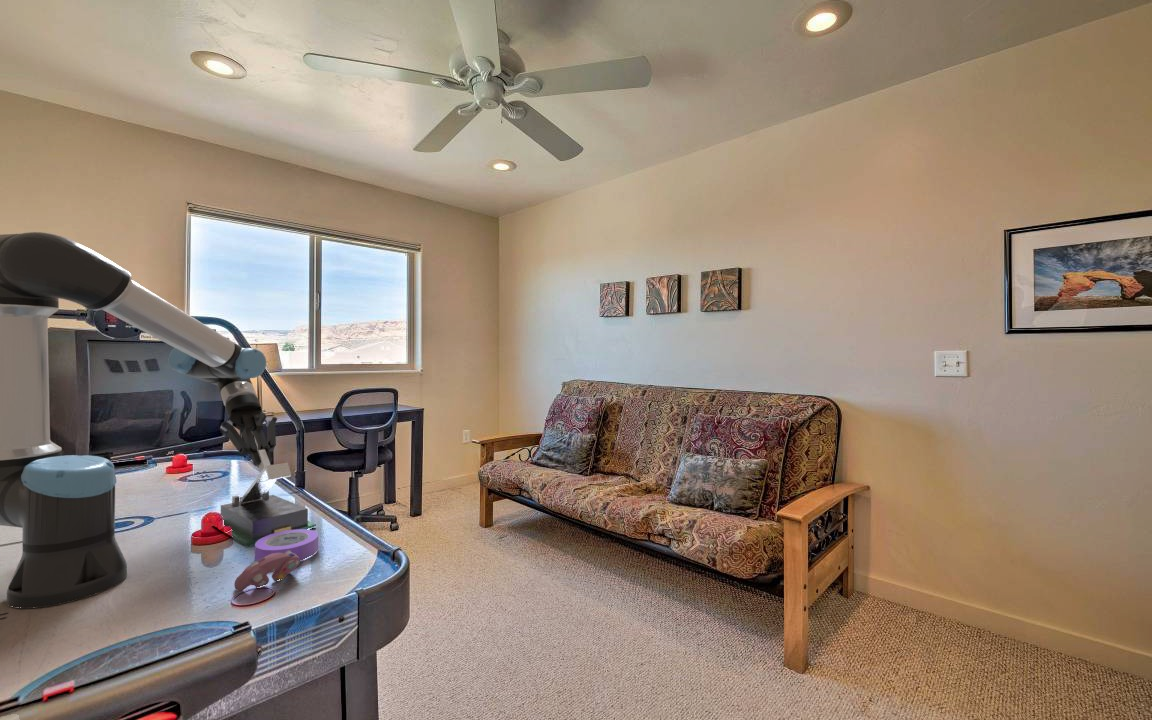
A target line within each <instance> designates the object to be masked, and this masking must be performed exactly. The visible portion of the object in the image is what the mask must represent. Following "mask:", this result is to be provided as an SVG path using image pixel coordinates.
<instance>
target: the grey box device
mask: <svg viewBox="0 0 1152 720" xmlns="http://www.w3.org/2000/svg"><path fill="white" fill-rule="evenodd" d="M231 501H232V502H231V503H226V504H221V505H220V516H221V515H222V516H223V520H224V525H225V526H230V527H232V530H233V531H232V536H233V538H234V539H233V538H232V539H233V540H235V539H236V540H237V541H236V540H235V541H236V542H238V541H239V542H238V543H239V544H241V543H242V544H241V545H243V546H245V547H246V546H248V547H251V546H250V545H252V546H255V545H254V544H255V543H256V542H257V541H258V540H259V539H261V538H263V537H265V536H268V535H270V534H274V533H277V532H282V531H287V530H296V529H308V528H311V527H314V526H316V527H317V524H316V523H313V522H311V521H310V520H309V515H308V514H309V509H308V508H307V507H304V506H302V505H299V504H296V503H294V502H292V501H289V500H287V499H284V498H282V497H280V496H277V495H274V494H270V490H268V492H267V493H266V494H265V495H264V497H263V498H262V499H258V500H253V501H248V502H244V503H240V496H239V495H232V499H231Z"/></svg>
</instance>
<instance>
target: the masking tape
mask: <svg viewBox="0 0 1152 720" xmlns="http://www.w3.org/2000/svg"><path fill="white" fill-rule="evenodd" d="M288 550H290V551H291V552H292V553H295V554H296V555H297V556H298V557H299V558H300V560H303V559H305V558H307V557H309V556H311V555H313V554H314V553H315V552H316V551H317V550H318V551H319V533H318V532H317V531H316V530H314V529H311V530H307V529H296V530H287V531H282V532H277V533H274V534H270V535H268V536H265V537H263V538H261V539H259V540H258V541H257V542H256V543H255V545H254V561H259V560H260V559H262V558H264V557H265V556H267V555H270V554H273V553H285V552H286V551H288Z"/></svg>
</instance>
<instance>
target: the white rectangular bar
mask: <svg viewBox="0 0 1152 720" xmlns="http://www.w3.org/2000/svg"><path fill="white" fill-rule="evenodd" d="M291 476H292V472H291V469H290V465H289V462H282V463H276V464H275V463H274V464H271V465H269V466H265V467H264V469H263V470H262V471H261V472H260V473H259V474H258V475H257V477H256V478H255V479H254V480H253V482H252V484H251V485H250V486H249V488H248V489H246V490H247V491H245V493H244V494H243V495H242V497H241V496H239V502H240V503H244V502H248V501H253V500H258V499H262V498H263V497H264V495H265V494H266V493H267V492H268V491H270V489H271V488H272V486H273V485H274V484H275V483H276V482H277V481H278V479H284V478H291Z"/></svg>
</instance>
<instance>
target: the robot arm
mask: <svg viewBox="0 0 1152 720" xmlns="http://www.w3.org/2000/svg"><path fill="white" fill-rule="evenodd" d="M59 299H60V300H61V299H62V300H66V301H69V302H72V303H75V304H77V305H81V306H82V307H83V308H86V309H88V310H91V311H95V312H96V311H104V312H106V313H107V314H110V315H111V316H113V317H115V318H117V319H119V320H122V321H123V322H125V323H126V324H128V325H130V326H132V327H134V328H136V329H138V330H140V331H142V332H144V333H146V334H148V335H150V336H151V337H153V338H156V339H157V340H160V341H161V342H163V343H165V344H166V345H169V346H170V347H172V349H171V351H170V353H169V355H168V358H167V365H168V367H169V368H170V369H171V370H173V371H175V372H178V373H180V374H181V375H186V376H187V377H191V378H195V379H197V380H201V381H203V382H206V383H209V384H212V385H215V386H216V387H217V388H218V391H219V394H220V396H221V399H222V403H223V406H224V408H225V412H226V415H227V417H228V419H227V421H225V420H224V421H222V422H221V424H220V427H219V431H220V432H222V433H223V434H225V435H226V436H227V438H228V439H229V440H230V442H231V443H232V445H233V446H234V448H235V449H236V450H237V451H238V453H239V454H240V456H248V458H249V459H251V460H252V464H253V466H255V467H258V469H259V471H260V473H261V471H262V470H263V469H264V467H265V466H269V465H272V461H273V457H272V453H273V451H274V449H275V448H276V445H277V438H276V436H277V435H276V422H277V421H278V418H277V417H276V416H273V417H272V418H271V417H268V416H267V415H266V413H265V412H264V411H263V409H262V405H261V402H260V400H259V398H258V395H257V393H256V391H255V388H254V387H255V386H254V385H253V382H252V381H251V379H255V378H259V377H260V376H261V375H262V374H263V373H264V372H265V370H266V367H267V360H266V356H265V354H264V353H263V352H262V351H261V350H260V349H258V348H252V347H242V346H241V345H239V344H237V343H236V342H234V341H232V340H231V339H229V338H227V337H226V336H224V335H223V334H221V333H219V332H218V331H216V330H214V329H213V328H212V327H209V326H207V324H204V323H203V322H201V321H199V320H198V319H196V318H195V317H193V316H191V315H189V314H188V313H187V312H184V311H183V310H182V309H180V308H179V307H177V306H175V305H173V304H172V303H170V302H168V301H167V300H165V299H163V298H162V297H161V296H159V295H157V294H156V293H153V292H152V291H150V290H149V289H147V288H146V287H144V286H142V285H140V284H139V283H138V282H136V281H135V280H133V279H132V274H131V272H129V271H128V270H126V269H125V268H124V267H121V266H120V265H118V264H117V263H115V262H113V261H112V260H111V259H109V258H107V257H105V256H103V255H102V254H100V253H98V252H97V251H94V250H93V249H91V248H89V247H87V246H85V245H83V244H80V243H79V242H77V241H74V240H72V239H69V238H66V237H64V236H61V235H58V234H53V233H50V232H49V233H48V232H42V231H41V232H40V231H39V232H37V231H34V232H33V231H31V232H23V233H11V234H7V233H5V234H0V526H5V527H11V528H12V527H13V528H20V529H22V547H21V548H22V553H21V558H20V560H19V562H18V564H17V566H16V568H15V571H14V573H13V575H12V578H11V580H10V582H9V584H8V587H7V589H6V605H7V606H8V605H9V606H8V607H10V606H13V607H12V608H14V607H19V608H18V609H34V608H33V607H38V608H45V607H51V606H57V605H62V604H65V603H70V602H74V601H75V602H76V601H78V600H81V599H85V598H88V597H92V596H94V595H97V594H100V593H102V592H105V591H107V590H109V589H111V588H114V587H115V586H117V585H119V584H120V583H122V582H124V581H125V579H126V578H127V576H128V563H127V561H126V559H125V557H124V555H123V552H122V550H121V548H120V546H119V544H118V541H117V539H116V535H115V534H116V533H115V532H116V531H115V530H116V529H115V528H116V527H115V526H116V524H115V523H116V484H117V476H116V470H115V465H114V463H113V462H112V460H111V461H110V460H108V459H106V458H102V457H98V456H89V455H90V454H87V455H86V454H85V455H76V454H72V455H63V449H62V446H59V445H57V444H56V443H55V442H53V441H52V440H51V428H50V426H51V423H50V422H51V421H50V419H51V417H50V415H51V414H50V382H49V381H50V378H49V377H50V376H49V375H50V374H49V373H50V371H49V366H50V365H49V334H48V333H49V327H48V323H49V322H48V321H49V320H48V319H49V317H51V316H52V315H54V314H55V313H56V312H58V311H59V304H60V303H59ZM264 423H265V426H266V427H267V430H266V432H267V435H265V433H264V431H263V424H264ZM238 431H239V432H238ZM266 436H267V438H266ZM20 607H21V608H20Z"/></svg>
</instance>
